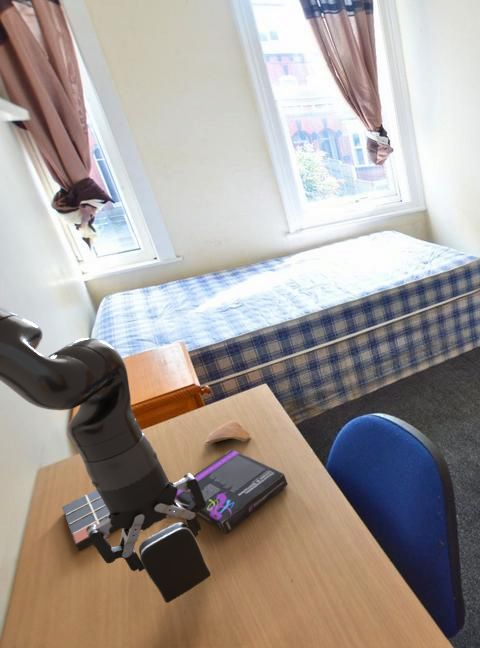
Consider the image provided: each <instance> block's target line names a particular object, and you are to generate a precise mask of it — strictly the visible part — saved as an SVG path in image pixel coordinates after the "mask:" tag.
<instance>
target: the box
mask: <svg viewBox="0 0 480 648" xmlns="http://www.w3.org/2000/svg"><path fill="white" fill-rule="evenodd" d="M193 476H194V477H195V479H196V480H197V482H198V485H199V487H200V490H201V492H202V495H203V497H204V500H205V502H206V507H205V508H204V509H201V510H199V511H198V512H197V514H196V517H197V518H198V517H199V518H200V519H201V520H203V521H205V522H207V523H209V524H210V525H212V526H213V527H214V528H216V529H218V530H220V531H222V532H223V533H225V534H228V533H230V531H232V530H234V528H236V527H237V526H238V525H239V524H240V523H242V522H243V521H244V520H245V519H247V518H248V517H249V516H250V515H252V514H253V513H254V512H256V511H257V510H258V509H260V507H262V506H263V505H264V504H265V503H267V502H268V501H270V499H272V498H273V497H274V496H276V494H278V493H279V492H280V491H281V490H283V489H284V488H286V487H287V486H288V481H287V479H286V478H287V477H286V475H285V473H283V472H281V471H279V470H276V469H275V468H272V467H270V466H268V465H266V464H264V463H261V462H259V461H258V460H256V459H253V458H251V457H249V456H247V455H244V454H242V453H241V452H238V451H236V450H234V449H230V450H228V451H227V452H226V453H225V454H223V455H222V456H220V457H219V458H217V459H216V460H215V461H213V462H211V463H210V464H208V465H207V466H205V467H204V468H203V469H201V470H200V471H197V473H195V474H194V475H193ZM175 500H177V501H179V502H180V503H183V504H185V505H189V504H190V503H192V502H193V500H192V498H191V495H190V493H189V492H184V491H183V490H178V492H177V495H176V498H175Z"/></svg>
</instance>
